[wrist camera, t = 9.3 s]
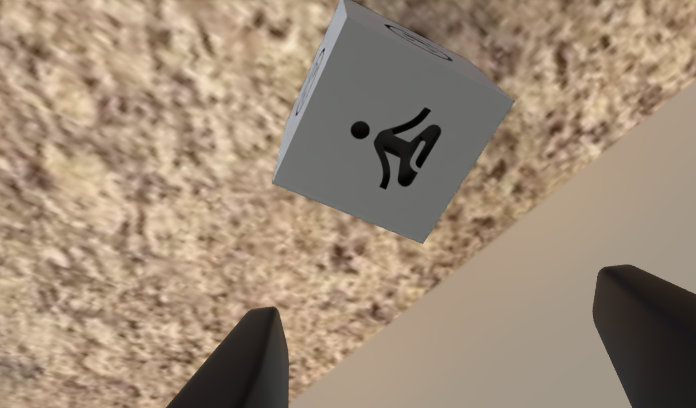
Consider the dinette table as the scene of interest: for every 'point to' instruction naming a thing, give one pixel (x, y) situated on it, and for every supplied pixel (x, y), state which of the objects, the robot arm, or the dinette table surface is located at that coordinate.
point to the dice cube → (387, 124)
